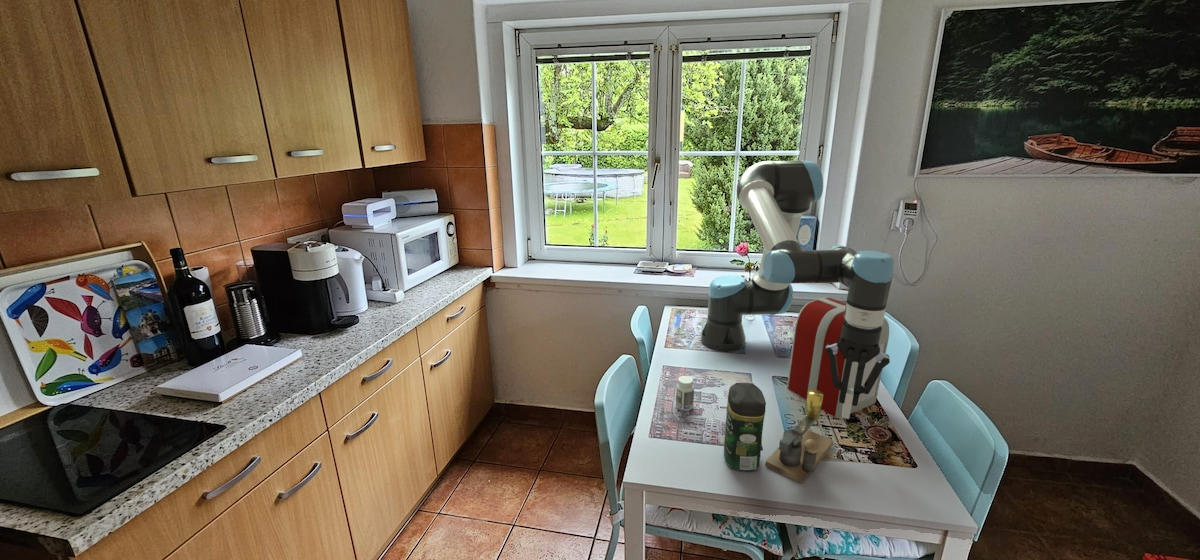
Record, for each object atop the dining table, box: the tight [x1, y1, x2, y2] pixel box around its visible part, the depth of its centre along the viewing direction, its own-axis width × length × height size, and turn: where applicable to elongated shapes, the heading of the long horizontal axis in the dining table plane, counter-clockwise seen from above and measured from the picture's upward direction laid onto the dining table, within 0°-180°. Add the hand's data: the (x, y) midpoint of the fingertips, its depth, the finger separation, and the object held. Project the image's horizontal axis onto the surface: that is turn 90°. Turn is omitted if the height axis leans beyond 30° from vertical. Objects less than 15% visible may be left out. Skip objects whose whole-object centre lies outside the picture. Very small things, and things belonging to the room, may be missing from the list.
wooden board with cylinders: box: [764, 429, 834, 485], centre depth 114 cm, size 10×18×9 cm, turn 136°
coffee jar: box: [723, 382, 767, 472], centre depth 111 cm, size 10×8×19 cm
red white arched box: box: [786, 297, 890, 419], centre depth 135 cm, size 17×18×27 cm
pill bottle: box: [675, 375, 695, 411], centre depth 133 cm, size 5×5×8 cm
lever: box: [778, 390, 823, 454], centre depth 112 cm, size 4×17×8 cm, turn 136°
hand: (845, 415), depth 113 cm, fingers closed
